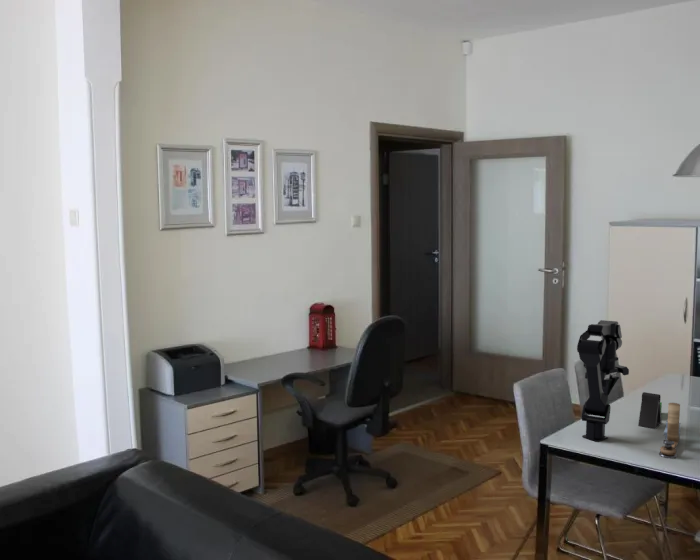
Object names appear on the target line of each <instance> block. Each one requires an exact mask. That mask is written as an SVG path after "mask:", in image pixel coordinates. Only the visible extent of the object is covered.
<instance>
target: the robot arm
mask: <svg viewBox="0 0 700 560" xmlns="http://www.w3.org/2000/svg"><path fill="white" fill-rule="evenodd" d="M593 336H594V337H599V338H600V339H601V340H593V339H590V338H591V337H593ZM622 336H623V335H622V331H621V325H620V324H619V322H618V320H616V321H614V320H606V319H605V320H602V319H601V320H599V321H598V323H597V324H594V323H593V324H588V327H587V329H586V330H585V331H584V332H583V333H582V334H581V335H579V339H578V342H577V346H576V351H577V352H576V353H578V356H579V360H580V361H581V362H582V363H583V368H584V369H585V371H586V372H584V379H586V380H587V382H586V383H587V388H588V389H587V391H588V395H587V398H586V401H585V402H584V404H583V406H582V411H581V420H582V421H581V422H585V424H586V425H585V434H584V435H582V436H581V437H582V438H585V439H588V440H591V441H594V442H600V441H604V440H607V439H609V437H608V436H606V435H605V434H606V433H605V432H606V425H607V424H609V422H610V418H611V417H610V416H611V404H609V403H610V402H609V395H610V394H611V392H612V391H613V388H614V387H615V385H616V384H617V381H618V380H619V379H620V376H617V374H619V373H620V374H622V376H629V374H630V370H629V368H628V367H627V366H624V365H620V364H617V361H619V357H617V350H620V348H621V347H622V345H623V341H622Z"/></svg>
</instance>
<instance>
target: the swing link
mask: <svg viewBox="0 0 700 560" xmlns="http://www.w3.org/2000/svg"><path fill="white" fill-rule="evenodd" d="M667 409H668V410H667V411H668V412H667V421H668V427H667V439H666V440H672V441H674V444H673V445H672V448H671V449H667V448H665V445H663V446H660V449H659V452H660V453H662V454H664V455H671V456H672V455H676V454H677V446H678V444H679V442H680V440H679V423H680V415H681V414H680V412H681V411H680V410H681V404H680V403H677V402H669V403H668V406H667Z"/></svg>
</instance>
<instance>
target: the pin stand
mask: <svg viewBox="0 0 700 560" xmlns="http://www.w3.org/2000/svg"><path fill="white" fill-rule="evenodd" d="M662 443H663V444H664V446H665V448H667V449H671V448H672V445H673V444H674V441H672V440H667V439H663V440H662ZM658 455H659V456H660V457H661V458H666V459H676V458H678V454H677V453H676V455H672V456H671V455H664V454H662V453H660V451H658Z"/></svg>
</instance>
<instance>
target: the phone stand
mask: <svg viewBox="0 0 700 560" xmlns="http://www.w3.org/2000/svg"><path fill="white" fill-rule="evenodd" d="M660 402H661V394H657V393H651V392H644V391H643V392H642V393H641V402H640V403H641V404H640V409H639V410H640V411H639V417H638V425H637V426H638V427H643V428H647V427H648V429H652V430H655V428H656V429H657V428H659V426H660V425H662V408H661V405H660Z"/></svg>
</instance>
